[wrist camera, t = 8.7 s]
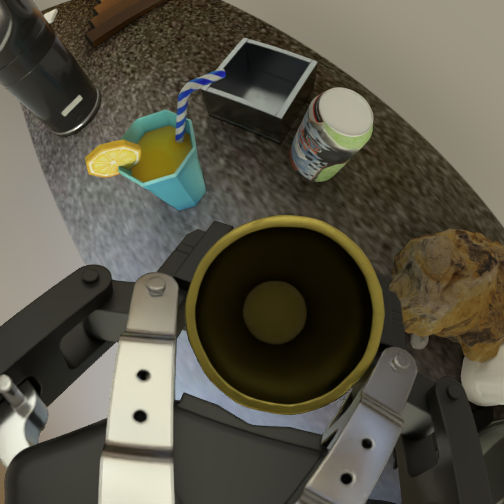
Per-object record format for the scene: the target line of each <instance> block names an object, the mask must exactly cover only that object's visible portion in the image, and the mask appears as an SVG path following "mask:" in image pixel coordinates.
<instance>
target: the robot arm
mask: <svg viewBox="0 0 504 504" xmlns="http://www.w3.org/2000/svg"><path fill="white" fill-rule="evenodd" d="M0 84H2V85H3V86H4V87H5V88H6V89H7V90H8V91H9V92H10V93H11V94H12V95H14V96H15V97H16V98H17V99H18V100H19V101H20V102H21V103H22V104H23V105H24V106H25V107H26V108H28V109H29V110H30V111H31V112H32V113H33V114H34V115H35V116H36V117H37V118H39V119H40V120H41V121H42V122H43V123H44V124H45V125H46V126H47V127H48V128H49V129H50V130H51V131H52V132H53V133H54V134H55V135H57V136H61V137H65V136H70V135H72V134H74V133H76V132H78V131H80V130H81V129H82V128H84V127H85V126H86V125H87V124H88V123H89V122H90V121H91V120H92V118H93V117H94V116H95V114H96V112H97V111H98V108H99V106H100V102H101V94H100V92H99V90H98V89H97V87H96V86H95V85H94V84H93V83H92V82H91V81H90V79H89V78H88V76H87V75H86V74H85V72H84V71H83V69H82V68H81V67H80V65H79V64H78V63H77V61H76V60H75V59H74V57H73V56H72V54H71V53H70V52H69V50H68V49H67V48H66V46H65V45H64V43H63V42H62V41H61V39H60V38H59V37H58V35H57V34H56V32H55V31H54V30H53V28H52V27H51V26H50V24H49V23H48V21H47V20H46V19H45V17H44V16H43V15H42V13H41V12H40V10H39V9H38V8H37V6H36V5H35V3H34V2H33V1H32V0H0ZM231 230H233V226H230V225H227V224H223V223H220V222H217V221H214V222H213V223H212V224H211V226H210V227H209V228H208V230H207V231H206V232H205V231H202V230H199V229H197V230H195V231H193V232H191V233H189V234H187V235H186V237H185V238H184V239H183V240H182V242H181V244H179V245H178V246H177V248H176V250H174V251H173V252H172V254H171V255H170V256H169V257H168V259H167V260H166V261H165V262H164V264H163V265H162V266H161V267H160V269H159V270H158V271H157V272H152V273H147V274H145V275H143V276H141V277H140V278H139V279H138V280H137V281H136V282H125V281H116V280H112V276H111V273H110V271H109V270H108V269H107V268H105V267H103V266H100V265H86V266H83V267H81V268H79V269H78V270H76V271H75V272H73V273H72V274H70V275H69V276H67V277H66V278H65V279H63V280H62V281H60V282H59V283H58V284H56V285H55V286H53V287H52V288H51V289H49V290H48V291H47V292H45V293H44V294H43V295H41V296H40V297H38V298H37V299H36V300H34V301H33V302H32V303H30V304H29V305H28V306H26V307H25V308H24V309H23V310H21V311H20V312H18V313H17V314H16V315H14V316H13V317H12V318H11V319H9V320H8V321H7V322H5V323H4V324H3V325H2V326H0V461H1V462H2V463H3V465H4V466H5V467H6V468H7V471H6V474H5V482H4V485H5V487H4V488H5V504H367V502H366V501H367V499H368V498H369V496H370V494H371V492H372V490H373V489H374V487H375V485H376V483H377V481H378V479H379V477H380V475H381V474H382V472H383V470H384V468H385V466H386V464H387V462H388V460H389V457H390V455H391V453H392V451H393V449H394V447H395V449H396V456H397V463H398V471H399V479H400V488H401V497H402V504H493V503H492V497H491V491H490V485H489V480H488V475H487V470H486V465H485V461H484V456H483V452H482V448H481V444H480V440H479V436H478V432H477V428H476V425H475V421H474V418H473V414H472V411H471V408H470V404H469V401H468V398H467V395H466V392H465V389H464V388H463V386H462V385H461V384H460V383H459V382H458V381H457V380H456V379H454V378H452V377H447V376H446V377H442V378H440V379H439V380H438V381H437V382H436V383H435V382H433V381H432V380H430V379H428V378H426V377H425V376H423V375H421V374H420V373H418V372H417V364H416V362H415V360H414V358H413V357H412V356H411V354H409V353H408V352H407V351H406V341H405V331H404V323H403V315H402V306H401V302H400V300H399V298H398V296H397V295H396V293H395V292H393V291H390V290H389V285H388V277H387V276H386V275H383V274H380V273H377V272H375V274H376V276H377V278H378V281H379V283H380V286H381V288H382V294H383V302H384V311H385V316H384V324H383V330H382V335H381V339H380V343H379V347H378V350H377V353H376V355H375V357H374V359H373V361H372V363H371V365H370V366H369V368H368V369H367V370H366V372H365V373H364V374H363V375H362V377H361V378H360V379H359V380H358V381H357V382H356V383H355V384H354V385H353V386H352V391H351V392H350V393H349V394H348V395H347V397H346V398H345V400H344V402H343V403H342V405H341V406H340V408H339V410H338V411H337V413H336V414H335V416H334V417H333V419H332V420H331V422H330V423H329V425H328V426H327V428H326V429H325V431H324V432H323V434H322V435H320V434H316V433H312V432H307V431H303V430H299V429H295V428H291V427H276V426H257V425H251V424H249V423H247V422H245V421H243V420H242V419H240V418H238V417H237V416H235V415H233V414H232V413H230V412H228V411H227V410H225V409H223V408H222V407H220V406H219V405H217V404H214V403H211V402H208V401H205V400H203V399H200V398H197V397H195V396H192V395H190V394H187V393H183V395H182V397H181V400H180V401H179V400H175V380H176V347H177V338H178V336H179V335H180V333H181V331H182V330H185V331H186V323H185V303H186V297H187V293H188V290H189V287H190V284H191V281H192V279H193V276H194V274H195V271H196V269H197V267H198V265H199V263H200V261H201V260H202V258H203V257H204V256H205V254H206V253H207V252H208V251H209V249H210V248H211V247H212V246H213V245H214V244H215V243H216V242H217V241H218V240H220V239H221V238H222V237H223V236H224V235H226V234H227V233H228V232H230V231H231ZM116 342H119V343H118V349H117V354H116V360H115V367H114V373H113V380H112V387H111V394H110V402H109V410H108V418H106V419H103V420H101V421H98V422H96V423H93V424H91V425H88V426H85V427H83V428H80V429H78V430H75V431H72V432H70V433H67V434H64V435H61V436H59V437H56V438H53V439H50V440H48V441H44V442H42V443H38V440H39V435H40V433H41V431H42V430H43V429H44V428H45V425H46V423H47V420H48V409H47V407H48V406H49V405H50V404H51V403H52V402H53V401H54V400H55V399H56V398H57V397H58V396H59V395H60V394H62V393H63V392H64V391H65V390H66V389H67V388H68V387H69V386H70V385H71V384H72V383H73V382H74V381H75V380H76V379H77V378H78V377H79V376H81V374H83V373H84V372H85V370H87V369H88V368H89V367H90V366H91V365H92V364H93V363H94V362H95V361H96V360H98V358H100V357H101V356H102V355H103V354H104V353H105V352H106V351H107V350H108V349H109V348H110V347H112V346H113V345H114V344H115V343H116ZM433 432H435V437H436V442H437V446H438V451H439V459H438V462H437V461H436V455H435V450H434V445H433V440H432V435H431V433H433Z"/></svg>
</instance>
